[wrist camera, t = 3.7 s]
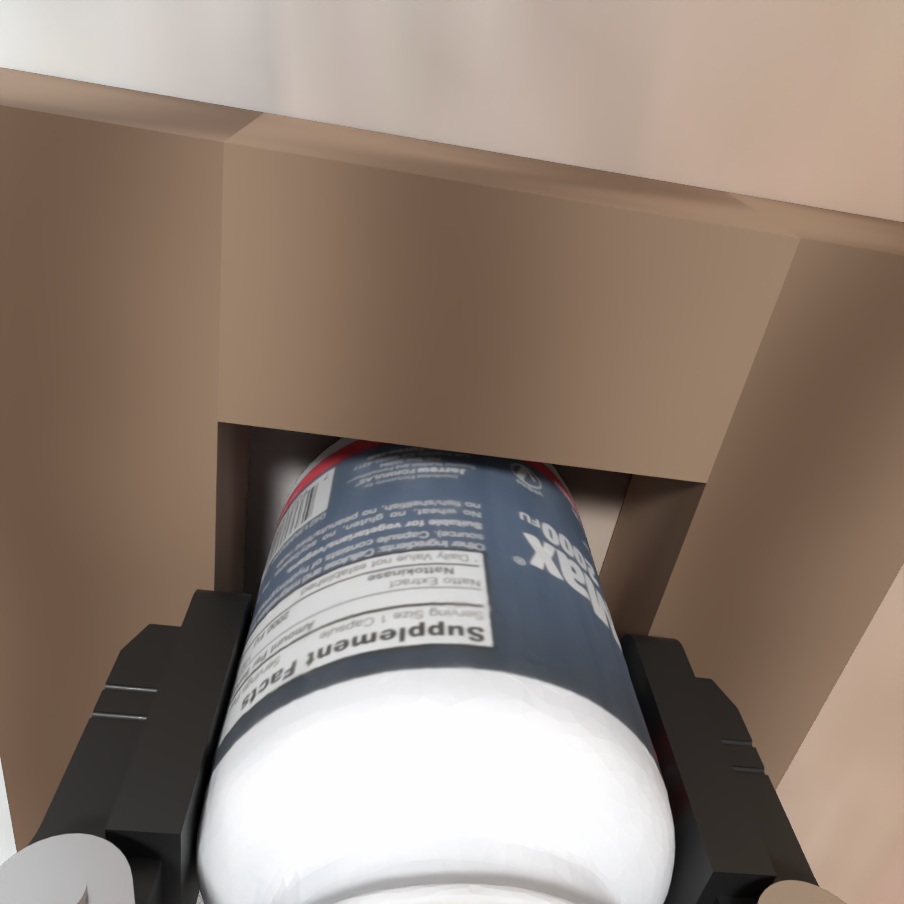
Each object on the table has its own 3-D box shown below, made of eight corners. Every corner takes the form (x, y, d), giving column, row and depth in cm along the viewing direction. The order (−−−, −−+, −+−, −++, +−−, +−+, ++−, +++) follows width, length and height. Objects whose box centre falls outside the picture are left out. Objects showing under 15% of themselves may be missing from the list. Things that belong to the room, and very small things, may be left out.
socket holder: (940, 228, 11) (1062, 281, 9) (671, 801, 18) (706, 912, 16) (0, 66, 10) (-116, 85, 8) (73, 755, 16) (20, 870, 14)
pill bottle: (604, 609, 15) (807, 1265, 7) (344, 675, 15) (274, 1348, 8) (538, 363, 12) (744, 977, 5) (229, 454, 13) (-52, 1134, 5)
